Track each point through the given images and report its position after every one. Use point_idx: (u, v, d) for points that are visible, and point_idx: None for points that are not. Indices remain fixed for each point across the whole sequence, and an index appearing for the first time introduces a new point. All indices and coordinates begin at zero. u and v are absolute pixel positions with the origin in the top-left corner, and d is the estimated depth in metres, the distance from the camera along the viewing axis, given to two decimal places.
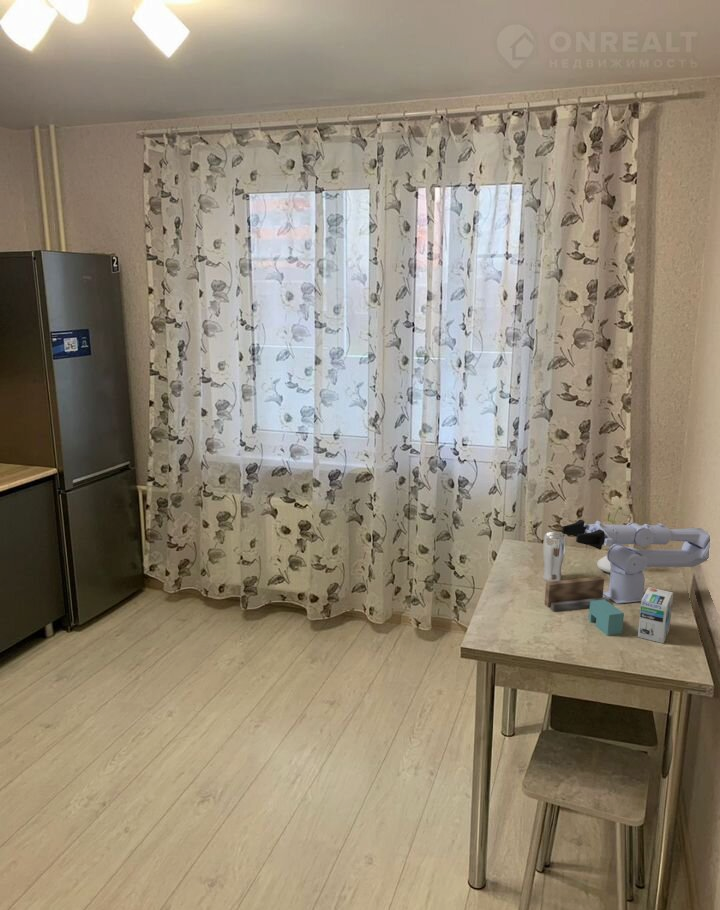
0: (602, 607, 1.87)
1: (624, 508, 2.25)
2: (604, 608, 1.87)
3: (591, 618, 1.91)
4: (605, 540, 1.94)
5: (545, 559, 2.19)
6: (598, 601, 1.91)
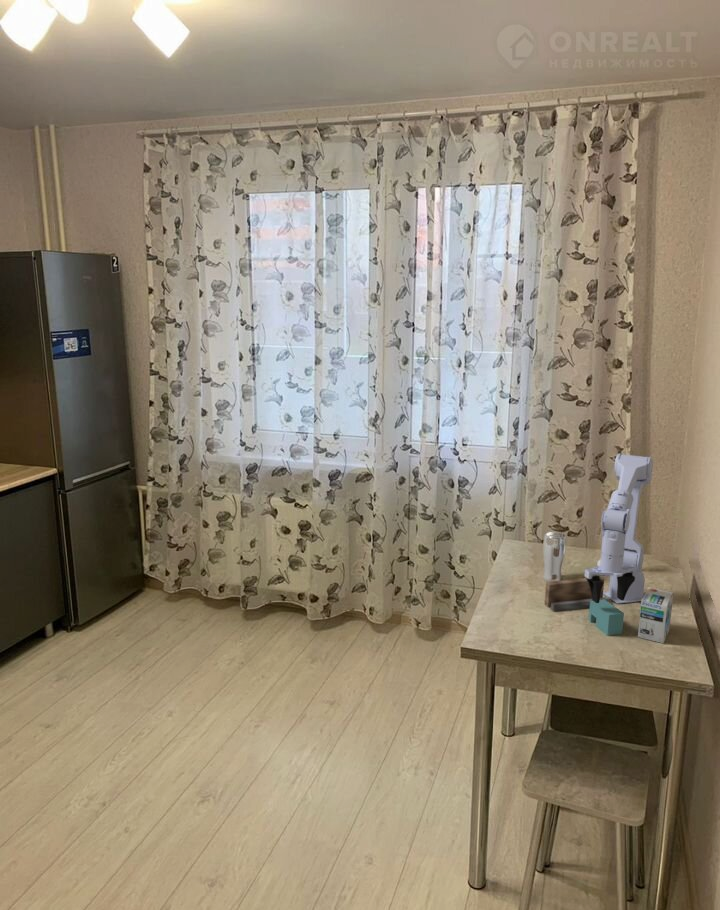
0: (602, 607, 1.87)
1: None
2: (604, 608, 1.87)
3: (591, 618, 1.91)
4: None
5: (545, 559, 2.19)
6: None
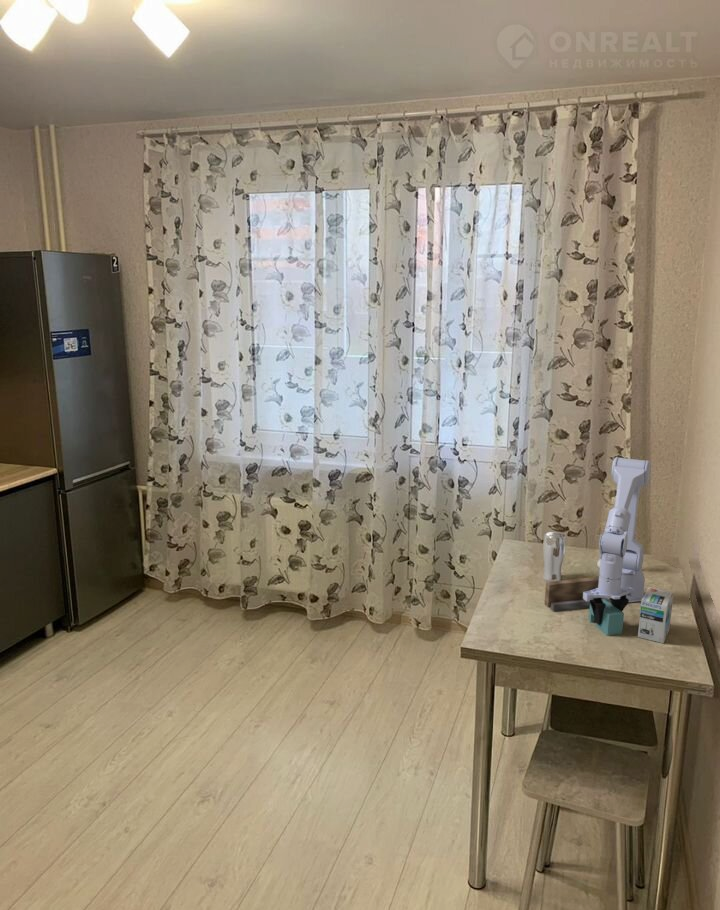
0: None
1: None
2: (604, 608, 1.87)
3: (591, 618, 1.91)
4: None
5: (545, 559, 2.19)
6: None
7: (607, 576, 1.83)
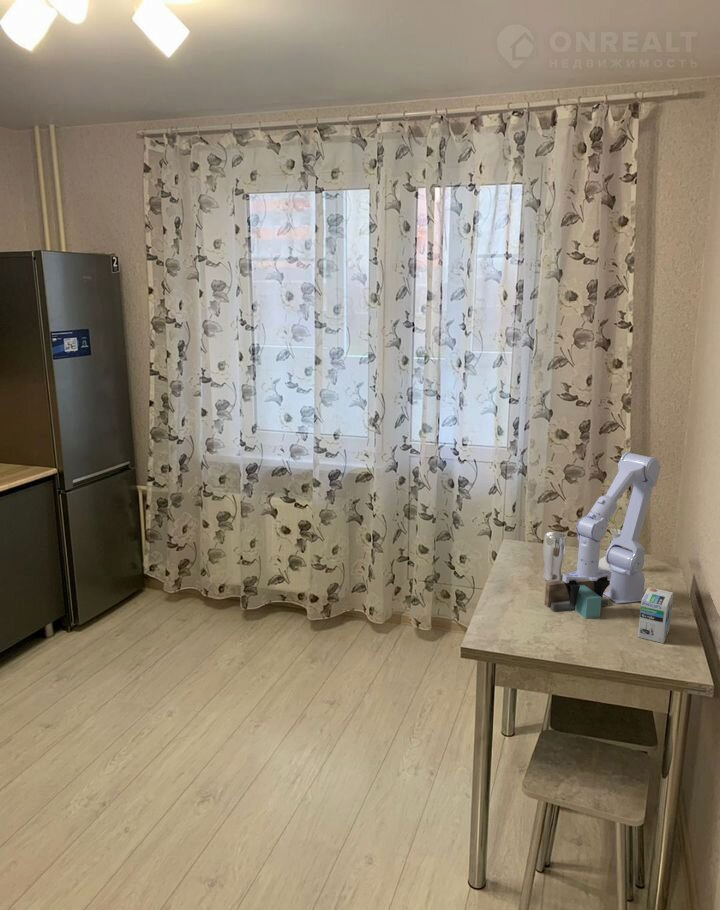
0: (581, 592, 1.97)
1: (624, 508, 2.25)
2: (583, 592, 1.96)
3: None
4: None
5: (545, 559, 2.19)
6: None
7: (581, 558, 1.94)
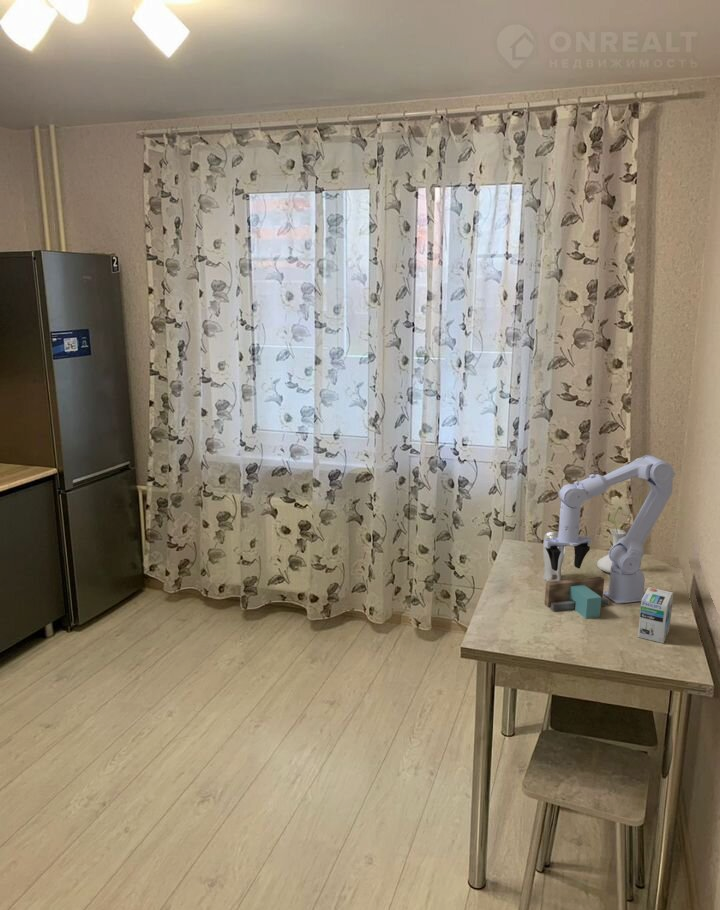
0: (581, 592, 1.97)
1: (624, 508, 2.25)
2: (583, 592, 1.96)
3: None
4: None
5: (545, 559, 2.19)
6: (577, 586, 2.01)
7: (559, 522, 2.02)
